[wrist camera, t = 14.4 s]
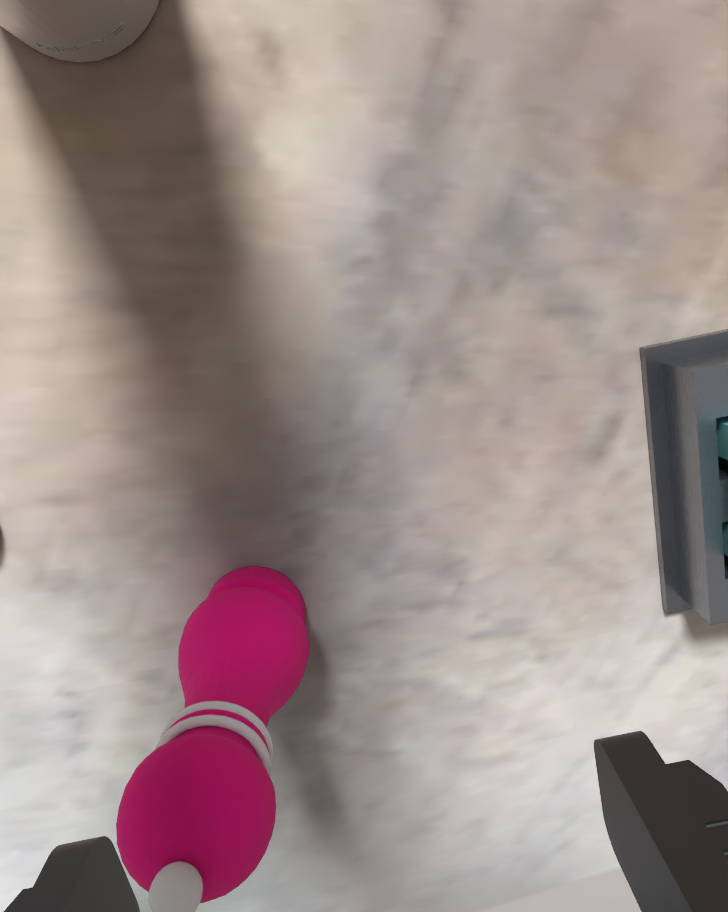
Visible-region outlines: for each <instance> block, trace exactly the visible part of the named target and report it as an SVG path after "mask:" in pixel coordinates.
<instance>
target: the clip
mask: <svg viewBox="0 0 728 912" xmlns="http://www.w3.org/2000/svg"><path fill="white" fill-rule="evenodd" d="M716 431H717V448H718V456H720V457H722V458H724V459H726V460H728V416H725V417H720V418H716ZM722 534H723V551H724V554H725V555H727V556H728V522H723V523H722Z"/></svg>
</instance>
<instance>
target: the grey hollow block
mask: <svg viewBox="0 0 728 912" xmlns="http://www.w3.org/2000/svg"><path fill="white" fill-rule="evenodd" d="M640 357H641V368H642V379H643V390H644V402H645V413H646V424H647V435H648V447H649V458H650V469H651V480H652V492H653V503H654V514H655V525H656V537H657V548H658V559H659V570H660V582H661V593H662V604H663V609H664V610H665V611H666V612H667V613H672V612H677V611H682V610H687V609H692V608H693V609H694V610H695V611H696V612H697V613H698V614H699V615H700V616H701V617H702V618H703V619H704V620H706V621H707V622H708V623H709V624H710V625H713V624H718V623H723V622H728V556H727V555H725V554H724V551H723V534H722V523H723V522H728V460H726V459H724V458H722V457H720V456H718V448H717V431H716V418H720V417H725V416H728V329H727V330H722V331H717V332H713V333H708V334H703V335H698V336H694V337H689V338H684V339H679V340H674V341H670V342H665V343H660V344H655V345H651V346H646V347H641V348H640Z"/></svg>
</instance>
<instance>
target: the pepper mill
mask: <svg viewBox="0 0 728 912" xmlns="http://www.w3.org/2000/svg"><path fill="white" fill-rule="evenodd" d="M304 622H305V604H304V601H303V598H302V596H301V593H300V591H299V590H298V588H297V587H296V586H295V585H294V583H293V582H292V581H291V580H289V579H288V578H287V577H285V576H284V575H283V574H281V573H279V572H277V571H274V570H272V569H268V568H264V567H245V568H240V569H237V570H234V571H232V572H230V573H228V574H226V575H225V576H223V577H222V578H221V579H220V580H219V581H218V582H217V583H216V584H215V585H214V587H213V588H212V590H211V591H210V594H209V596H208V598H207V600H205V601H204V602H203V603H202V604H200V605H199V606H198V607H197V608H196V610H195V611H194V612H193V613H192V615H191V616H190V618H189V619H188V621H187V623H186V626H185V628H184V631H183V634H182V638H181V641H180V646H179V675H180V680H181V684H182V688H183V692H184V696H185V708H184V709H183V710H181V711H179V712H178V713H177V714H176V715H175V716H174V717H172V718H171V719H170V721H169V722H168V723H167V725H166V726H165V728H164V730H163V732H162V735H161V738H160V741H159V742H158V744H157V747H156V749H155V751H153V752H152V753H151V754H150V755H149V756H148V757H146V758H145V759H144V760H143V762H142V763H141V764H140V765H139V766H138V767H137V768H136V770H135V772H134V773H133V775H132V777H131V778H130V780H129V782H128V784H127V785H126V787H125V790H124V793H123V796H122V800H121V803H120V806H119V810H118V817H117V824H116V827H117V845H118V848H119V851H120V855H121V858H122V862H123V864H124V865H125V867H126V869H127V871H128V872H129V874H130V876H131V877H132V878H133V879H134V880H135V881H136V882H137V883H138V884H139V885H140V886H141V887H142V888H144V889H145V890H147V891H148V892H149V905H150V909H151V911H152V912H195V910H196V909H197V907H198V905H199V904H200V903H203V902H207V901H210V900H213V899H216V898H218V897H221V896H224V895H226V894H227V893H229V892H230V891H232V890H233V889H235V888H236V887H238V886H239V885H240V884H241V883H242V882H243V881H245V880H246V879H247V878H248V877H249V875H250V874H251V873H252V872H253V871H254V870H255V869H256V867H257V865H258V864H259V862H260V860H261V859H262V857H263V855H264V854H265V852H266V849H267V847H268V844H269V842H270V839H271V836H272V832H273V828H274V823H275V812H276V801H275V791H274V787H273V784H272V781H271V779H270V777H269V776H270V768H271V763H272V758H273V744H272V740H271V736H270V734H269V732H268V730H267V724H268V721H269V718H270V717H271V716H272V715H273V714H274V713H275V712H276V711H277V710H278V709H279V708H281V707H282V706H283V705H284V704H285V703H286V702H287V701H288V699H289V698H290V697H291V696H292V694H293V693H294V691H295V690H296V688H297V687H298V685H299V683H300V681H301V679H302V677H303V675H304V672H305V668H306V664H307V661H308V657H309V639H308V634H307V629H306V627H305V625H304Z"/></svg>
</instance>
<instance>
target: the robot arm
mask: <svg viewBox="0 0 728 912" xmlns="http://www.w3.org/2000/svg"><path fill="white" fill-rule="evenodd" d="M158 4H159V0H0V26H2V27H3V28H4V29H6V30H7V31H8V32H10V33H11V34H13V35H14V36H15V37H17V38H18V39H19V40H21V41H22V42H24V43H25V44H27V45H28V46H30V47H32V48H33V49H35V50H37V51H38V52H40V53H42V54H45V55H48V56H50V57H53V58H56V59H59V60H64V61H71V62H79V63H80V62H90V61H99V60H102V59H104V58H107V57H110V56H113V55H115V54H118V53H119V52H120V51H122V50H123V49H125V48H126V47H128V46H129V45H131V44H132V43H133V42H134V41H135V40H136V39H137V38H138V37H139V36H140V35H141V34H142V32H143V31H144V30H145V29H146V28H147V26H148V24H149V23H150V21H151V19H152V17H153V15H154V14H155V12H156V10H157V7H158ZM594 752H595V759H596V766H597V773H598V781H599V788H600V795H601V802H602V809H603V816H604V820H605V824H606V828H607V832H608V835H609V838H610V841H611V844H612V847H613V850H614V852H615V855H616V857H617V859H618V862H619V864H620V866H621V868H622V870H623V872H624V874H625V877H626V879H627V881H628V883H629V885H630V887H631V889H632V892H633V894H634V896H635V898H636V900H637V903H638V905H639V907H640V909H641V911H642V912H728V791H727V790H726V789H725V787H724V786H723V784H722V783H720V782H719V781H718V780H716V779H715V778H713V777H712V776H711V775H709V774H708V773H706V772H705V771H704V770H702V769H701V768H699V767H698V766H697V765H695V764H694V763H692V762H691V761H690V760H685V761H680V762H675V763H670V764H665V763H664V761H663V760H662V758H661V757H660V755H659V754H658V752H657V750H656V749H655V747H654V746H653V744H652V743H651V741H650V740H649V738H648V737H647V736H646V734H645V733H643V732H642V731H637V732H632V733H627V734H622V735H617V736H612V737H607V738H602V739H597V740H595V741H594ZM4 912H140V910H139V906H138V903H137V900H136V897H135V895H134V893H133V890H132V888H131V886H130V883H129V881H128V878H127V876H126V874H125V871H124V869H123V867H122V864H121V862H120V859H119V857H118V855H117V852H116V850H115V848H114V845H113V843H112V841H111V840H110V839H109V838H108V837H105V836H103V837H97V838H92V839H87V840H82V841H77V842H72V843H67V844H62V845H59V846H57V847H56V848H55V849H54V850H53V851H52V852H51V854H50V855H49V857H48V859H47V861H46V863H45V865H44V867H43V869H42V871H41V873H40V874H39V876H38V878H37V880H36V882H35V884H34V886H33V888H28V889H23V890H22V891H21V892H20V894H19V895H18V896H17V897H16V898H15V899H14V901H13V902H12V903H11V904H10V905H9V906H8V907H7V909H6V910H5V911H4Z"/></svg>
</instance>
